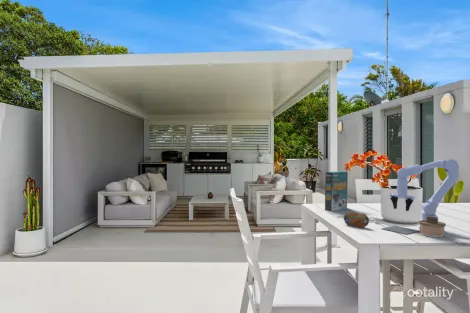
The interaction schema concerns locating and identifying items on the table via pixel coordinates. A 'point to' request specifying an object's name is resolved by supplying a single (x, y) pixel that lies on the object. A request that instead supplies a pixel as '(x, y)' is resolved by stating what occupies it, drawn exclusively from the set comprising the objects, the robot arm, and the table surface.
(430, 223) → the lid
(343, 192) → the cake mix box
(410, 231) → the mat
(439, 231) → the bowl
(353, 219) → the tin
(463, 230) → the table surface
